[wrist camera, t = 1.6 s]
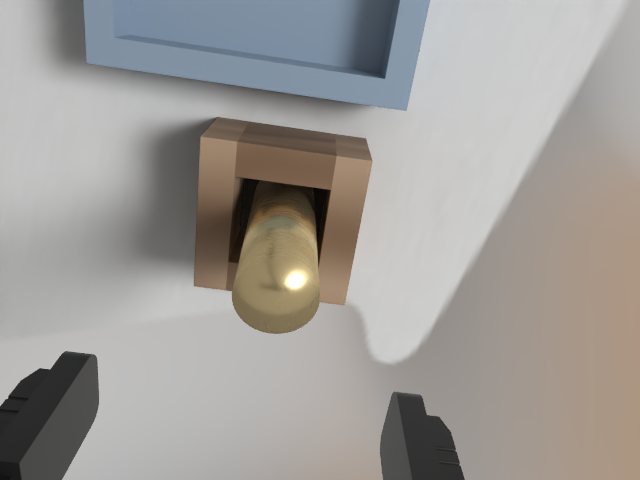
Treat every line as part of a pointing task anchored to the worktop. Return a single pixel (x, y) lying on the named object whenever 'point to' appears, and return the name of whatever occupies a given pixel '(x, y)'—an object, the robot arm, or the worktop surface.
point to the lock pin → (278, 260)
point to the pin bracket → (283, 167)
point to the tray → (267, 44)
